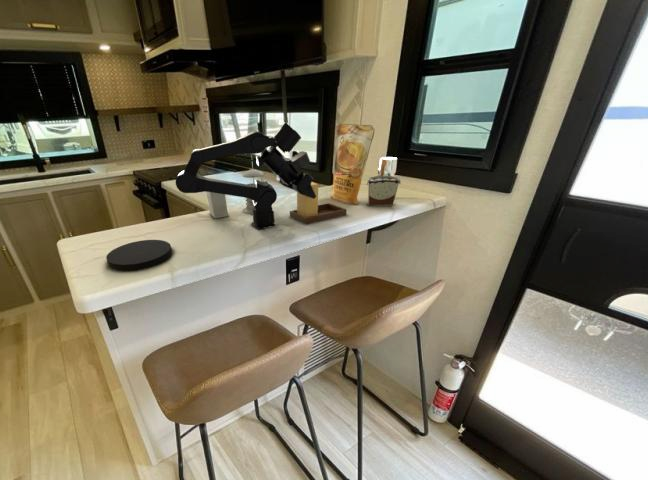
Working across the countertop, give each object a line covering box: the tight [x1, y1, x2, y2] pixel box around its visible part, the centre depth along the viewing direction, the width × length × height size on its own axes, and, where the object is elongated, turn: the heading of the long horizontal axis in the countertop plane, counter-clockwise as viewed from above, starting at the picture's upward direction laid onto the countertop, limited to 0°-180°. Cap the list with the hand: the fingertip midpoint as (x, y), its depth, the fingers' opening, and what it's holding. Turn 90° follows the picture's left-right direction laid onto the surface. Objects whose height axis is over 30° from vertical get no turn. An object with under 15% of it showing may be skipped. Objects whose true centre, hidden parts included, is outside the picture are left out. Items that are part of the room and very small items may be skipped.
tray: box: [289, 202, 347, 225], centre depth 114 cm, size 18×11×2 cm, turn 117°
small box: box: [206, 192, 229, 219], centre depth 120 cm, size 8×6×10 cm
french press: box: [242, 154, 265, 215], centre depth 118 cm, size 10×12×25 cm
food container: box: [366, 175, 401, 207], centre depth 121 cm, size 12×6×10 cm, turn 84°
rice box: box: [296, 181, 319, 218], centre depth 109 cm, size 5×6×12 cm
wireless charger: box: [105, 239, 173, 272], centre depth 90 cm, size 18×18×2 cm
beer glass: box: [377, 156, 398, 177], centre depth 129 cm, size 7×7×15 cm
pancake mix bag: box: [332, 123, 376, 205], centre depth 123 cm, size 7×19×28 cm, turn 27°
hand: (309, 194), depth 108 cm, fingers open, 9 cm apart
